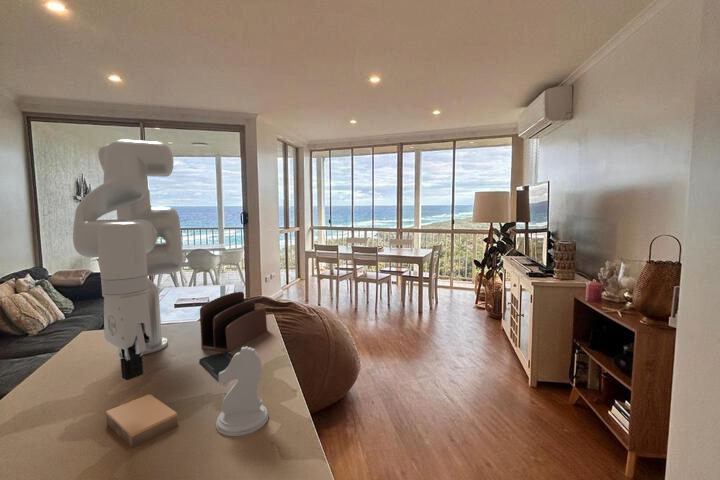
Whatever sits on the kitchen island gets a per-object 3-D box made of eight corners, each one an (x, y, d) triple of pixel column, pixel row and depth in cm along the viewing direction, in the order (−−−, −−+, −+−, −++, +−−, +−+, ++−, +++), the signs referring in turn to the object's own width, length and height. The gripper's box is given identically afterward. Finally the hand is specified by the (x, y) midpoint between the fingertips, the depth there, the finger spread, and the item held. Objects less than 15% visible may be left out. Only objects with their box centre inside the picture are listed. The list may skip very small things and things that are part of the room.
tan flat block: (106, 411, 70) (131, 434, 63) (149, 393, 77) (177, 413, 69) (107, 425, 71) (132, 450, 63) (150, 407, 77) (178, 427, 70)
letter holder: (201, 349, 107) (198, 303, 106) (243, 327, 126) (241, 288, 124) (227, 353, 104) (225, 306, 102) (267, 330, 122) (266, 290, 121)
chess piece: (222, 409, 75) (218, 340, 74) (270, 404, 77) (267, 336, 75) (210, 439, 65) (205, 360, 64) (265, 433, 67) (262, 356, 65)
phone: (226, 351, 103) (248, 368, 92) (226, 354, 103) (248, 372, 92) (197, 359, 98) (217, 378, 87) (197, 363, 98) (218, 382, 87)
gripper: (87, 284, 70) (96, 374, 72) (120, 295, 62) (128, 396, 63) (129, 278, 76) (136, 360, 78) (164, 286, 68) (171, 379, 69)
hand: (132, 376), depth 71 cm, fingers closed
